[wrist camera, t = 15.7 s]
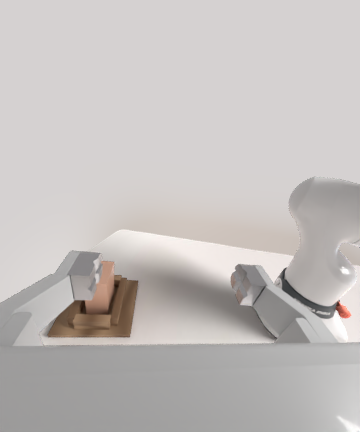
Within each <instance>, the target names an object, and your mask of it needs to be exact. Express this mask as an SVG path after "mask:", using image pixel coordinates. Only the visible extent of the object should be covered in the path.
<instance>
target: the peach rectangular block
mask: <svg viewBox="0 0 360 432" xmlns="http://www.w3.org/2000/svg"><path fill="white" fill-rule="evenodd" d="M101 263H102V264H103V269H102V275H101V278H100V281H99V282H98V283H97V284H96V288H97V289H96V291H95V294H94V297H93V299H92V300H85V306H86V313H87V314H100V315H108V313H109V309H110V305H111V302H112V298H113V295H114V262H108V261H101Z"/></svg>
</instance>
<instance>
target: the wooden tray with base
mask: <svg viewBox="0 0 360 432" xmlns="http://www.w3.org/2000/svg"><path fill="white" fill-rule="evenodd" d="M121 277H122V275H114V295H113V298H112V302H111V305H110V309H109V313H108V315H100V314H87V313H86V306H85V300H74V302H72V303H71V304H70V305H69V306H68V307H67V308H66V309H65V310H64V311H63V312H61V313H60V314H59V315H58V316H57V318H56V320H55V322H54V324H53V326H52V328H51V330H50V331H49V333H48V337H130V333H131V326H132V320H133V313H134V306H135V300H136V293H137V286H138V281H133V280H127V278H121Z"/></svg>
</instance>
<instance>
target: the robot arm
mask: <svg viewBox="0 0 360 432" xmlns="http://www.w3.org/2000/svg"><path fill="white" fill-rule="evenodd" d="M289 211H290V214H291V216H292V217H293V219H294V220H295V222H296V224H297V226H298V229H299V233H300V244H299V248H298V251H297V253H296V255H295V256H294V258H293V260H292V261H291V263H290V264H289V266H288V267H287V268H285V269H284V270H283V271H282V272H281V274H280V275H279V276H278V278H277V279H276V281H275V283H273V282H272V280H271V279H270V278H269V276H268V275H267V273H266V272H265V270H264V269H263V267H262V266H259V265H244V264H238V265H237V266H236V267H235V270H236V271H235V272H234V273H233V274H232V276H231V285H232V288H233V289H234V290H235V291H236V298H237V300H238V302H239V305H246V306H252V307H253V308H254V309H255V310H256V311H257V313H258V316H259V318H260V319H261V321H262V323H263V324H264V325H265V327H266V328H267V329H268V330H269V331H270V332H271V333H272V334H273V335H274V336H275V337H276V338H277V339H276V340H275V342H274V343H260V344H157V345H61V346H44V344H43V342H42V339H41V337H40V334H39V332H40V331H41V330H43V329H44V328H45V327H46V326H47V325H48V324H49V323H50V322H51V321H53V320H54V319H55V318H56V317H57V316H58V315H59V314H60V313H61V312H63V311H64V310H65V309H66V308H67V307H68V306H69V305H70V304H71V303H72V302H74V300H92V299H93V297H94V294H95V291H96V289H97V288H96V284H97V283H98V282H99V281H100V278H101V275H102V269H103V264H102V263H101V261H102V254H101V253H93V252H81V251H71V252H69V254H68V255H67V256H66V258H65V259H64V261H63V262H62V263H61V265H60V266H59V268H58V269H57V271H56V272H55V273H54V275H52V274H51V275H49V276H47V277H45V278H43V279H42V280H40V281H38V282H36V283H35V284H33V285H31V286H29V287H28V288H26V289H24V290H22V291H21V292H19V293H17V294H15V295H14V296H12V297H10V298H8V299H7V300H5V301H3V302H1V303H0V432H360V342H353V343H346V342H347V333H346V330H345V327H344V325H343V323H342V322H341V320H340V318H339V316H338V315H337V313H336V312H335V310H337V311H338V313H339V315H340V317H342V318H349V317H350V316H351V314H350V312H349V311H348V310H347V308H346V307H345V306H343V305H341V304H340V300H339V299H340V298H341V297H342V296H343V295H344V294H345V293H346V292H348V291H349V290H350V289H351V288H352V287H353V286H354V285H355V283H356V280H357V273H356V270H355V268H354V267H353V265H352V264H351V263H350V262H349V260H348V259H347V258H346V257H345V256H344V255H343V254H342V253H341V252H340V251H339V250H338V248H339V246H340V245H341V244H342V243H344V242H345V243H349V244H352V245H354V246H357V247H359V248H360V184H357V183H353V182H350V181H346V180H342V179H334V178H324V177H312V178H310V179H307V180H305V181H304V182H302V183H301V184H300V185H298V186H297V187H296V188H295V190H294V191H293V193H292V194H291V196H290V199H289ZM336 306H337V307H336Z"/></svg>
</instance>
